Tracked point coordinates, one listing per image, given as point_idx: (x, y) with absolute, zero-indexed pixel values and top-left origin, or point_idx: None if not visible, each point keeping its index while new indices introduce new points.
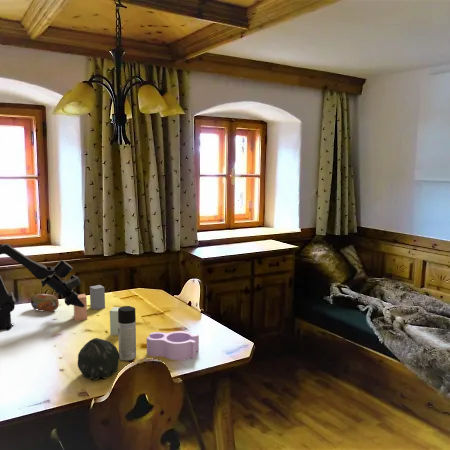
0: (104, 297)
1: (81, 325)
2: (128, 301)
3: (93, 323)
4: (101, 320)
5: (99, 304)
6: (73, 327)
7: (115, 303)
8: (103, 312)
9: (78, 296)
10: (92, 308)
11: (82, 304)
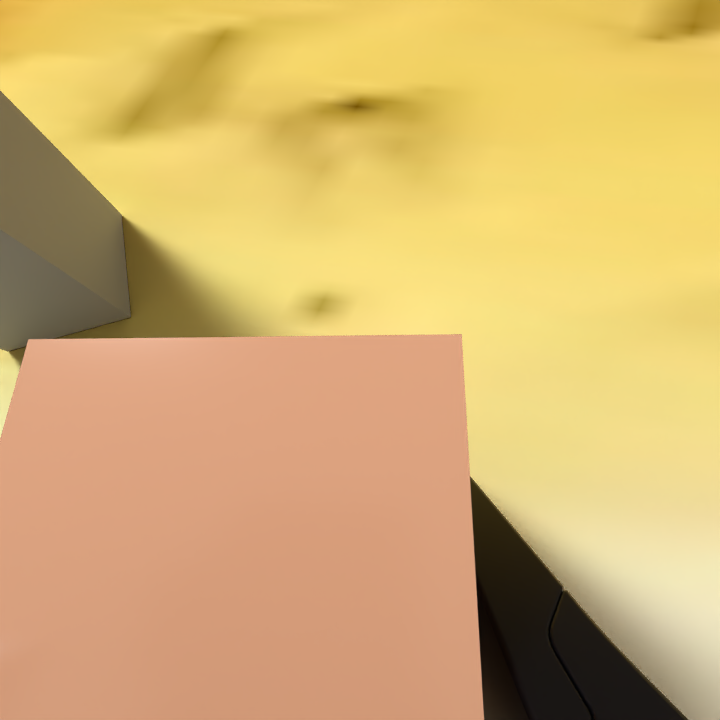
0: (20, 114)
1: (641, 552)
2: (66, 26)
3: (598, 390)
4: (515, 293)
5: (88, 235)
6: (707, 687)
7: (49, 119)
8: (254, 244)
9: (228, 653)
10: (62, 335)
11: (486, 506)
